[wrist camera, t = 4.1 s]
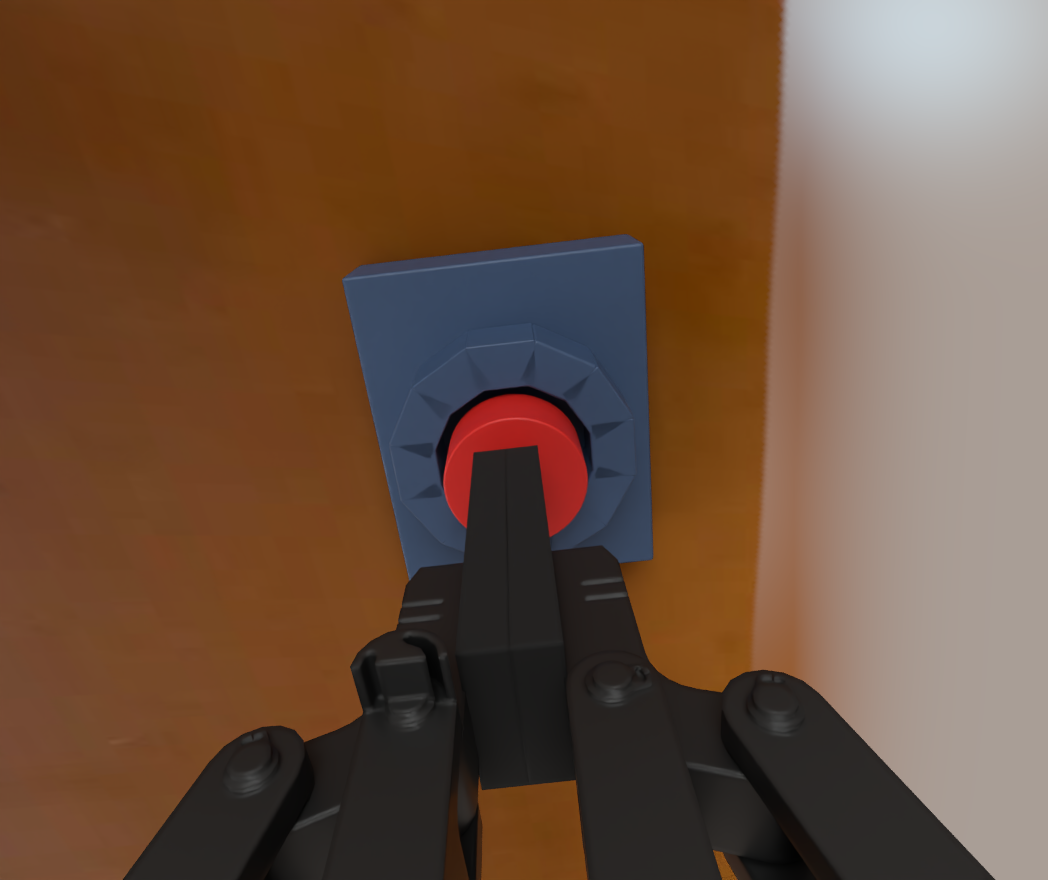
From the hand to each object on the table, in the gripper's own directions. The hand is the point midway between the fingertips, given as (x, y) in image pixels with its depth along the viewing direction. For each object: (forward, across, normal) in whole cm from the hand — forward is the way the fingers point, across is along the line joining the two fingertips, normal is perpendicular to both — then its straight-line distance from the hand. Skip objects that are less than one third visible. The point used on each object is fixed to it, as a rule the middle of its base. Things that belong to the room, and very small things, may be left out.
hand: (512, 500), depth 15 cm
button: (+2, 0, 0) cm, 2 cm away
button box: (+6, 0, 0) cm, 6 cm away
